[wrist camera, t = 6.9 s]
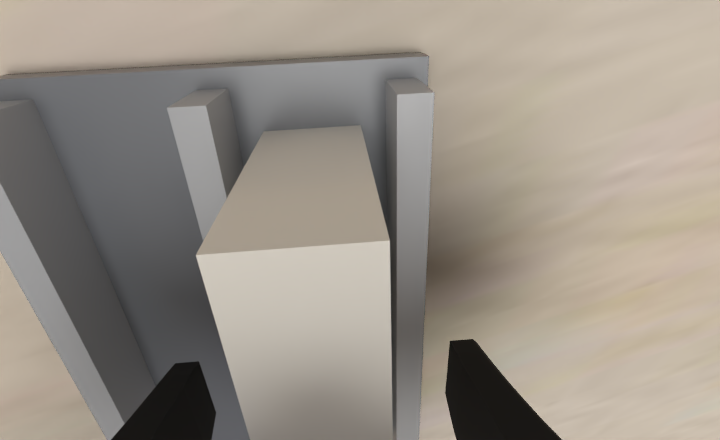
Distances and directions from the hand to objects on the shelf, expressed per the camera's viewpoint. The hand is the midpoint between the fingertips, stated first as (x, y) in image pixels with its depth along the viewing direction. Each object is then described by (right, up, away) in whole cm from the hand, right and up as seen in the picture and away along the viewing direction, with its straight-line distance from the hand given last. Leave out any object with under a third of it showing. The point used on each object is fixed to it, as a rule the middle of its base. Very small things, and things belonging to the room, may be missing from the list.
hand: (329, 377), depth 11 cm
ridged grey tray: (-3, +2, +4) cm, 5 cm away
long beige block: (0, +1, +3) cm, 3 cm away
